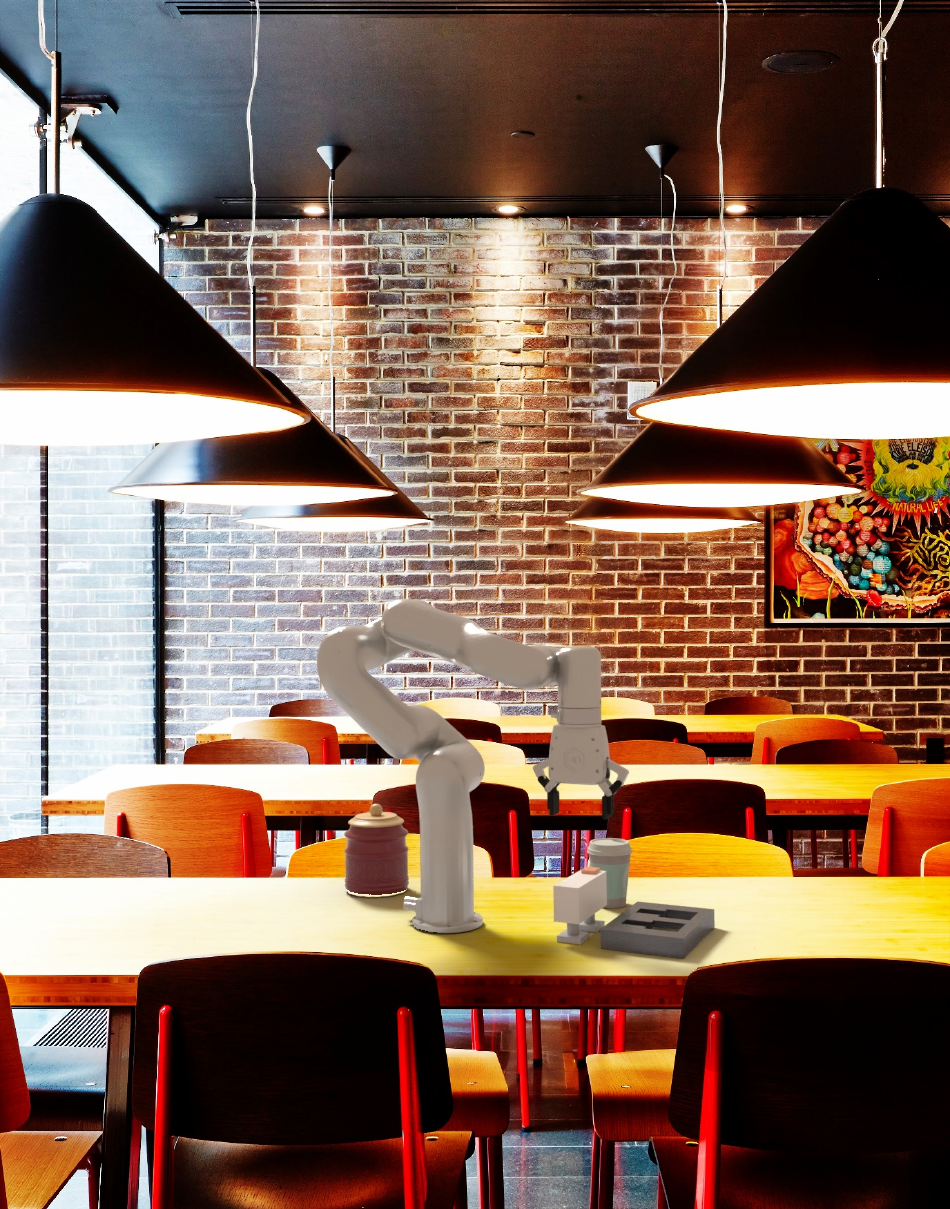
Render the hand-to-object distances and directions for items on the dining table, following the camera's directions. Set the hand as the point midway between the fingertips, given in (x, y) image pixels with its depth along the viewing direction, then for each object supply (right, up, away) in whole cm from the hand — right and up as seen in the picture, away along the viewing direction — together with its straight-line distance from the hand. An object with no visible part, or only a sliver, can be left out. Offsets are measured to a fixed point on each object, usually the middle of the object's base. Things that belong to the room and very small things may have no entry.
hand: (580, 816), depth 192 cm
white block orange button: (0, -20, -1) cm, 20 cm away
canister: (-38, -22, +33) cm, 55 cm away
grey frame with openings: (+13, -20, -4) cm, 24 cm away
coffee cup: (+7, -21, +19) cm, 29 cm away
